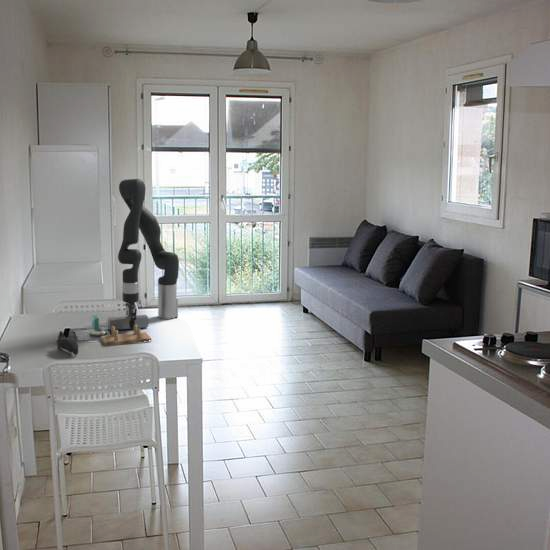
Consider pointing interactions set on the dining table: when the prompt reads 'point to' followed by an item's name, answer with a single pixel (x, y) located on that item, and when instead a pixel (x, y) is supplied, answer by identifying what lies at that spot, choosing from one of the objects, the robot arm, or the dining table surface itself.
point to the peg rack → (125, 337)
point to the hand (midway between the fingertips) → (131, 326)
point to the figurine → (67, 344)
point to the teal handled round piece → (96, 327)
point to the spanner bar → (127, 322)
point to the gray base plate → (92, 337)
